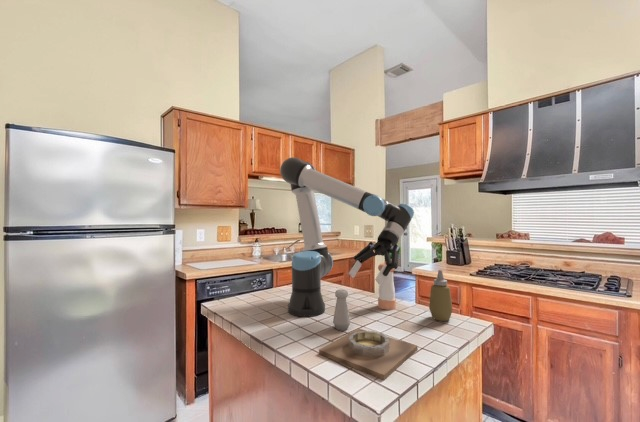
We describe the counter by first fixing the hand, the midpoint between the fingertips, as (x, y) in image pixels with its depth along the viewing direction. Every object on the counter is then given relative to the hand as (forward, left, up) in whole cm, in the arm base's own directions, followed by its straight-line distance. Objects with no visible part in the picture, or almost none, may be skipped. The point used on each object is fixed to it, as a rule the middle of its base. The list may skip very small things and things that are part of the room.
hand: (363, 278), depth 105 cm
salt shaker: (-2, -10, -16) cm, 19 cm away
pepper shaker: (-1, +21, -16) cm, 26 cm away
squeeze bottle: (+21, +21, -16) cm, 33 cm away
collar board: (+14, -19, -15) cm, 28 cm away
